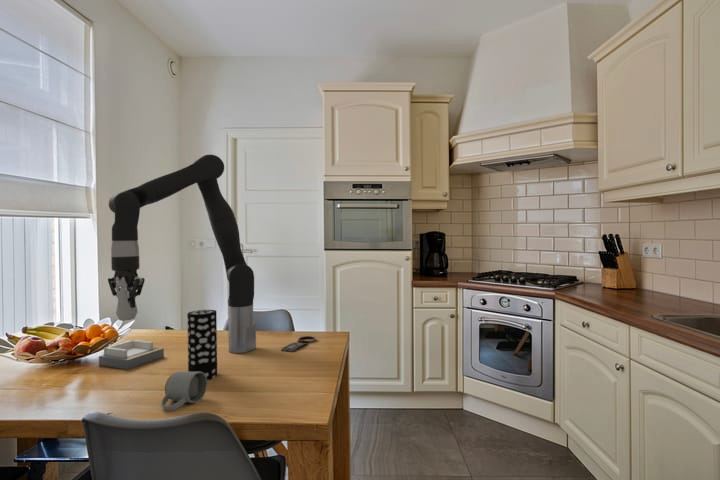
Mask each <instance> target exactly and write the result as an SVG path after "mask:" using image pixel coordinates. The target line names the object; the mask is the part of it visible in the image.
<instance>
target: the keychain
mask: <svg viewBox="0 0 720 480" xmlns="http://www.w3.org/2000/svg"><path fill="white" fill-rule="evenodd" d="M316 341H317V337H316V336H311V335H309V336H308V335H307V336H306V335H305V336H301V337H298V338H297V341H296V342H291V343H289V344H287V345H284V347H282V348H281V349H280V351H283V352H291V353H292V352H293V353H294V352H296V350H297V349H298V348H300V347H303V346H308V345H309V344H312V343H316Z"/></svg>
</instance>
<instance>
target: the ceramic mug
mask: <svg viewBox="0 0 720 480" xmlns="http://www.w3.org/2000/svg"><path fill="white" fill-rule="evenodd" d="M207 388H208V380H207V378H206V375H205V374H204V373H203V372H200V371H197V372H188V371H177V372H173V374H171V375H169V377H168V379H166V382H165V385H164V397H163V398H162V400H161V402H160V404H161V406H162V409H163V410H164V411H166V412H173V411H175V410H178V409H180V407H182V406H183V405H184V404H185V403H189V404H196V403H199V402H200V401H202V399H203V398H204V397H205V394H206V391H207ZM169 400H170V401H173V402H175V403H174V404H171V405H166V404H167V402H169Z"/></svg>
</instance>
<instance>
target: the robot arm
mask: <svg viewBox="0 0 720 480" xmlns="http://www.w3.org/2000/svg"><path fill="white" fill-rule="evenodd" d="M224 172H225V163H224V161H223V160H222V158H220V156H217V155H215V154H205V155H203V156H201V157H199V158H198V159H196V160H195V161H194V162H193V163H191V164H190V165H188V166H186V167H183V168H180V169H179V170H176V171H172V172H169V173H167V174H165V175H162V176H159V177H156V178H154V179H151V180H149V181H146V182H144V183H142V184H140V185H137V186H136V187H133V188H130V189H127V190H124V191H121V192H118V193H116V194H114V195H112V196H111V197H110V198H109V200H108V207H109V209H110V211H111V212H113V214H114V223H113V224H112V225H111V245H110V246H111V249H110V252H111V253H110V254H111V255H110V257H111V259H110V260H111V270H112V271H114V274H113V277H110V278H108V279H107V283H108V285H109V289H110V291H111V294H112V296H113V297H115V296H116V298H117V300H118V299H119V293H120V286H119V285H118V281H119V280H120V279H122V282H124V291H126V295H127V298H128V303H129V301H130V307H131V308H135V302H136V297H138V296H141V293H142V291H143V287H144V284H145V278H144V277H140V276H139V274H138V270H139V269H140V246H139V245H140V244H139V232H138V224H139V220H140V219H139V218H140V212H141V209H142V208H143V207H145V206H148V205H152V204H154V203H157V202H159V201H162V200H164V199H166V198H169V197H171V196H173V195H175V194H177V193H179V192H181V191H182V190H184V189H186V188H188V187H191V186H193V185H195V184H197V187H198V189H199V191H200V193H201V197H202V200H203V203H204V207H205V209H206V212H207V213H206V214H207V216H208V219H209V222H210V223H209V224H210V226H211V229H212V232H213V235H214V238H215V242H216V243H217V245H218V247H219V250H220V252H221V254H222V259H223V262H224V268H225V274H226V280H227V281H228V300H227V305H228V306H227V307H228V308H227V310H228V313H227V316H228V320H227V323H228V326H227V327H228V352H229V353H233V354H241V353H243V354H247V353H249V352H251V351H253V350H255V349H257V332H256V331H257V328H256V326H257V325H256V323H254V299H255V273H254V270H253V269H252V267H251V266H249V265H248V264H247V262H246V260H245V257H244V254H243V251H242V248H241V247H242V246H241V238H240V230H239V226H238V221H237V218H236V216H235V212H234V210H233V209H232V208H231V206H230V204H229V203H228V202H227V200H226V199H225V198H224V196H223V195H222V192H221V189H220V186H219V182H218V179H219V178H221V176H222V175H223V174H224ZM128 287H132V288H128ZM130 290H132V292H131V294H130ZM132 305H133V306H132Z"/></svg>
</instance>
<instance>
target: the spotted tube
mask: <svg viewBox="0 0 720 480" xmlns="http://www.w3.org/2000/svg"><path fill="white" fill-rule="evenodd" d="M217 321H218V320H217V310H215V309H200V310H193V311H189V312H187V360H188V361H187V370H188V371H187V372H197V371H200V372H203V373H204V374H205V375H206V378H207V381H209V380H212V379H215V378H216V377H218V334H217V333H218V332H217V331H218V330H217V329H218V328H217V327H218V326H217V325H218V322H217Z"/></svg>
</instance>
